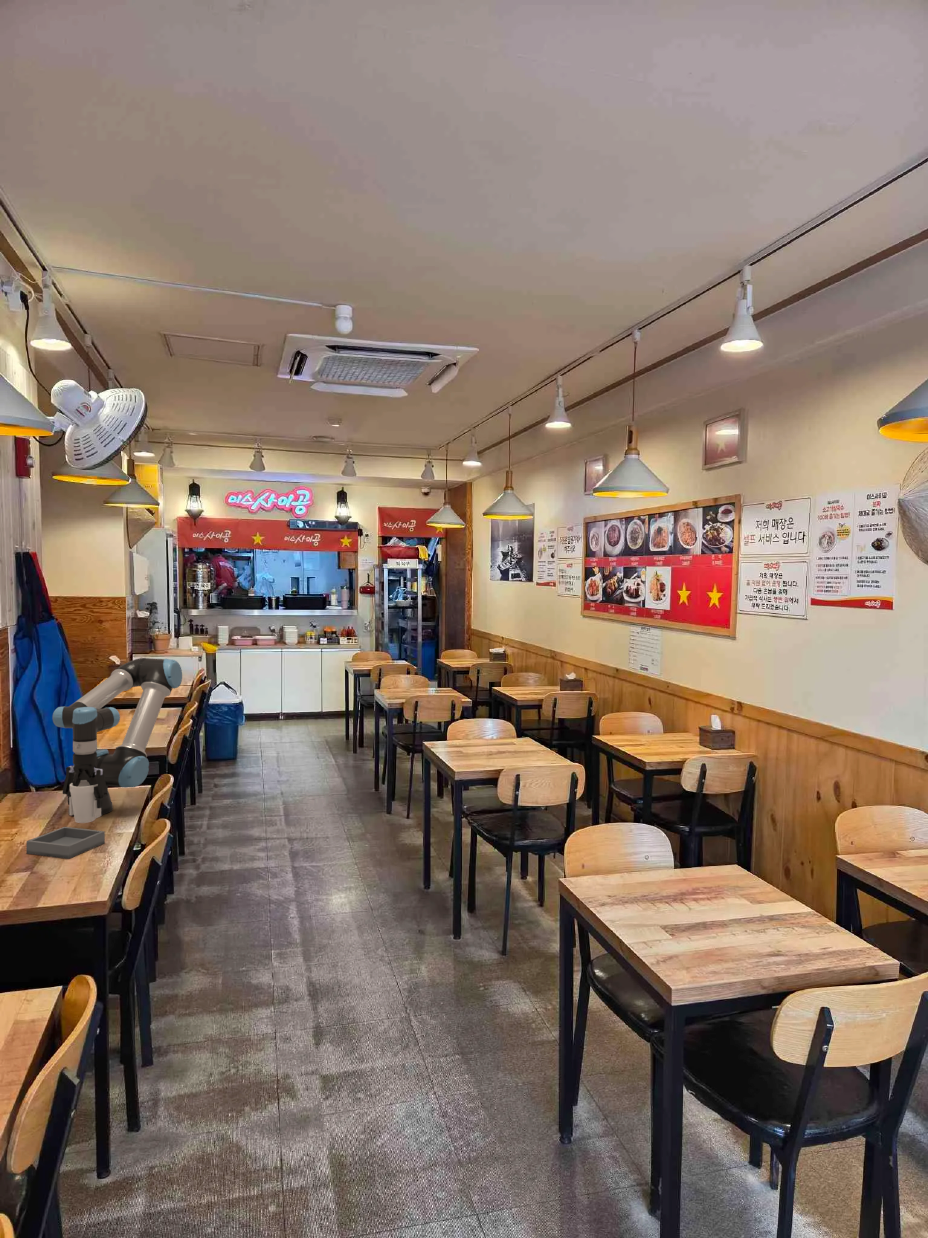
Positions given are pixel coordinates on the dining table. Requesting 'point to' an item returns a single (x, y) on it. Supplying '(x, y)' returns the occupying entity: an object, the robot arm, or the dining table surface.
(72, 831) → the tray
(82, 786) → the foam cup
